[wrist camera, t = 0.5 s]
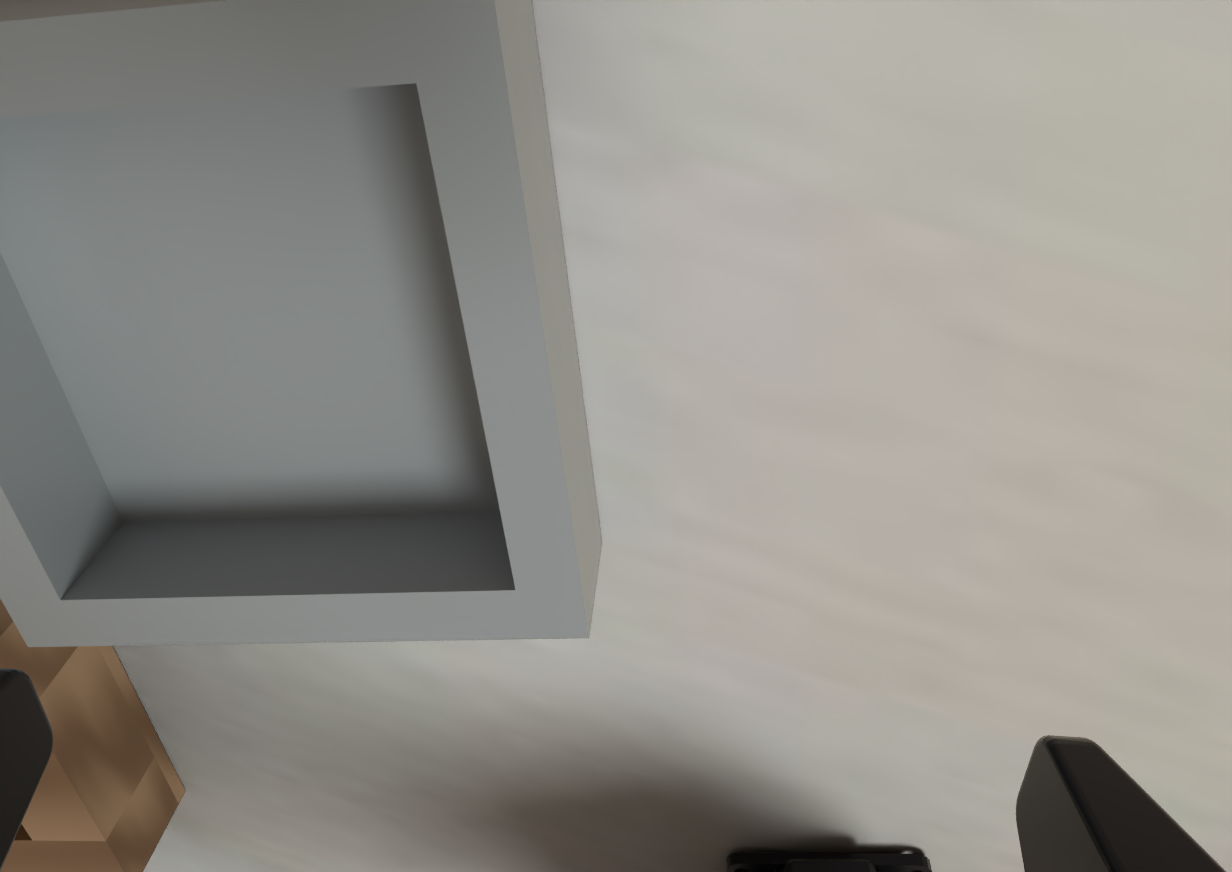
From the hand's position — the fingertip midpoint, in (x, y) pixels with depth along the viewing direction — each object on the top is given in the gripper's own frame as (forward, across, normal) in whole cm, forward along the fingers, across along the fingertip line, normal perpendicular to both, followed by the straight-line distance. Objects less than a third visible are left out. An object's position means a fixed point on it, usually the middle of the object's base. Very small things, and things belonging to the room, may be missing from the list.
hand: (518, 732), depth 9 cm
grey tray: (+14, +8, +3) cm, 17 cm away
